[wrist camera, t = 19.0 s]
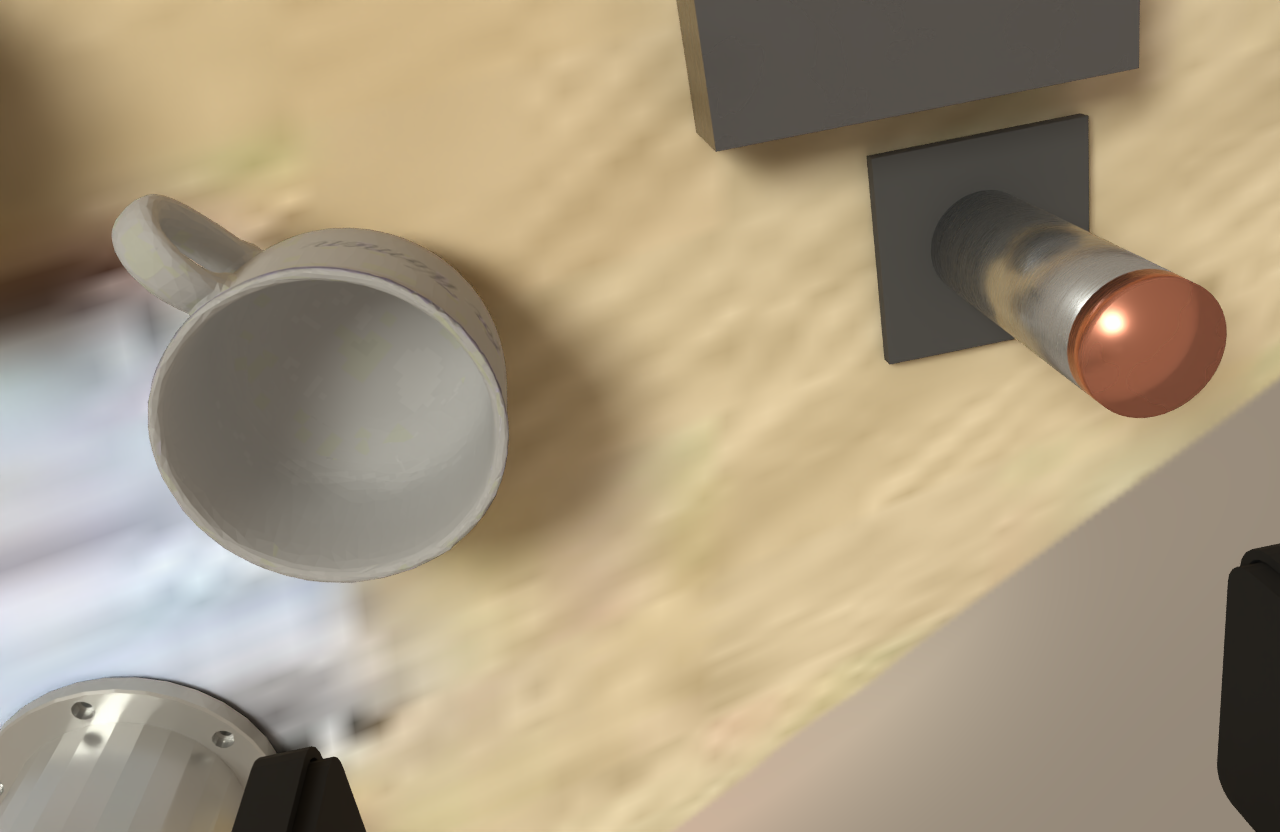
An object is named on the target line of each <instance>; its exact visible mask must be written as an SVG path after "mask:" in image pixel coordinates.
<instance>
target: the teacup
mask: <svg viewBox="0 0 1280 832" xmlns="http://www.w3.org/2000/svg"><path fill="white" fill-rule="evenodd" d="M112 242H113V246H114V249H115V253H116V254H117V256H118V258H119V259H120V261H121V263H122V264H123V266H124V267H125V268H126V270H127V271H128V272H129V273H130V274H131V275H132V276H133V278H134V279H135V280H137V281H138V282H139V283H140V284H141V285H142V286H143V287H144V288H145V289H146V290H148V291H149V292H150V293H151V294H153V295H154V296H156V297H157V298H159V299H160V300H162V301H164V302H166V303H168V304H169V305H171V306H173V307H175V308H177V309H179V310H181V311H184V312H186V313H188V314H189V315H190V317H189V318H188V319H187V320H186V321H185V323H184V324H183V325H182V326H181V327H180V328H179V330H178V331H177V332H176V333H175V335H174V337H173V338H172V340H171V342H170V343H169V345H168V346H167V348H166V350H165V352H164V354H163V356H162V358H161V359H160V362H159V364H158V366H157V368H156V371H155V374H154V377H153V380H152V386H151V392H150V396H149V401H148V430H149V437H150V443H151V447H152V451H153V454H154V457H155V461H156V464H157V466H158V469H159V471H160V473H161V476H162V478H163V480H164V481H165V483H166V485H167V486H168V488H169V490H170V491H171V493H172V494H173V496H174V497H175V499H176V500H177V502H178V504H179V505H180V507H181V508H182V510H183V511H184V512H185V513H186V514H187V515H188V516H189V517H190V519H191V520H192V521H193V522H194V523H195V524H196V525H197V526H198V527H199V528H200V529H201V530H203V531H204V532H205V533H206V534H207V535H208V536H209V537H211V538H212V539H213V540H215V541H216V542H217V543H218V544H220V545H221V546H222V547H223V548H225V549H227V550H229V551H230V552H232V553H234V554H235V555H237V556H239V557H241V558H243V559H245V560H247V561H249V562H251V563H253V564H255V565H258V566H260V567H262V568H265V569H268V570H271V571H274V572H277V573H280V574H283V575H286V576H290V577H295V578H300V579H304V580H309V581H319V582H341V583H350V582H359V581H367V580H372V579H379V578H384V577H388V576H391V575H394V574H398V573H401V572H404V571H407V570H410V569H414V568H416V567H418V566H420V565H422V564H424V563H426V562H428V561H430V560H432V559H434V558H436V557H438V556H440V555H441V554H443V553H445V552H447V551H448V550H450V549H451V548H452V547H453V546H454V545H455V544H456V543H457V542H459V541H460V540H461V539H462V538H463V537H465V536H466V535H467V534H468V533H469V532H470V531H471V529H472V528H473V527H474V526H475V525H476V524H477V523H478V522H479V520H480V519H481V518H482V517H483V516H484V514H485V513H486V511H487V510H488V508H489V506H490V505H491V503H492V501H493V500H494V498H495V496H496V493H497V490H498V488H499V485H500V483H501V480H502V476H503V473H504V469H505V465H506V459H507V454H508V441H509V425H508V414H507V377H506V366H505V359H504V353H503V349H502V345H501V341H500V338H499V335H498V332H497V330H496V327H495V324H494V322H493V320H492V318H491V316H490V314H489V312H488V310H487V308H486V307H485V305H484V303H483V301H482V300H481V298H480V297H479V296H478V294H477V293H476V292H475V290H474V289H473V288H472V286H471V285H470V284H469V283H468V282H467V281H466V280H465V279H464V278H463V277H462V276H461V275H460V274H459V273H458V272H457V271H456V270H455V269H454V268H453V267H452V266H450V265H449V264H448V263H446V262H445V261H444V260H443V259H441V258H440V257H439V256H437V255H436V254H434V253H432V252H430V251H429V250H427V249H425V248H423V247H422V246H420V245H418V244H415V243H413V242H411V241H409V240H406V239H404V238H401V237H398V236H395V235H392V234H388V233H384V232H379V231H374V230H368V229H357V228H333V229H323V230H317V231H312V232H308V233H304V234H300V235H297V236H294V237H292V238H289V239H286V240H284V241H282V242H280V243H278V244H276V245H273V246H271V247H269V248H268V249H266V250H264V251H263V250H261V249H260V248H258V247H257V246H256V245H254V244H251V243H248V242H246V241H243V240H240V239H239V238H237V237H236V236H235V235H233V234H232V233H230V232H229V231H227V230H226V229H224V228H223V227H221V226H220V225H218V224H217V223H215V222H213V221H212V220H210V219H209V218H207V217H205V216H204V215H202V214H201V213H199V212H197V211H196V210H194V209H192V208H191V207H189V206H187V205H185V204H183V203H181V202H179V201H177V200H175V199H172V198H169V197H166V196H163V195H156V194H152V195H146V196H143V197H141V198H139V199H136V200H135V201H133V202H132V203H131V204H130V205H128V206H127V207H126V208H125V209H124V210H123V212H122V213H121V214H120V215H119V217H118V218H117V219H116V221H115V224H114V226H113V229H112ZM183 254H184V255H183ZM186 256H187V257H186ZM189 258H190V259H192V260H193V261H195V262H196V263H198V264H200V265H201V266H203V267H204V268H203V267H201V266H199V265H197V264H196V263H194V262H193V261H192V260H190V259H189ZM205 268H206V269H205Z"/></svg>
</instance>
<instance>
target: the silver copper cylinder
mask: <svg viewBox="0 0 1280 832" xmlns="http://www.w3.org/2000/svg"><path fill="white" fill-rule="evenodd" d="M931 259H932V263H933V267H934V269H935V271H936V274H937V275H938V277H939V278H940V279H941V281H942V282H943V283H944V284H945V285H947V286H948V287H949V288H950V289H952V290H953V291H954V292H956V293H957V294H958V295H959V296H961V297H962V298H963V299H965V300H966V301H967V302H969V303H970V304H971V305H972V306H974V307H975V308H976V309H978V310H979V311H980V312H982V313H983V314H984V315H985V316H987V317H988V318H989V319H991V320H992V321H993V322H995V323H996V324H997V325H998V326H1000V327H1001V328H1002V329H1004V330H1005V331H1006V332H1008V333H1009V334H1010V335H1011V336H1013V337H1014V338H1015V339H1017V340H1018V341H1019V342H1021V343H1022V344H1023V345H1025V346H1026V347H1027V348H1028V349H1030V350H1031V351H1032V352H1034V353H1035V354H1036V355H1038V356H1039V357H1040V358H1041V359H1043V360H1044V361H1045V362H1047V363H1048V364H1049V365H1051V366H1052V367H1053V368H1054V369H1056V370H1057V371H1058V372H1060V373H1061V374H1062V375H1064V376H1065V377H1066V378H1067V379H1069V380H1070V381H1071V382H1073V383H1074V384H1075V385H1077V386H1078V387H1079V388H1080V389H1082V390H1083V391H1084V392H1086V393H1087V394H1088V395H1090V396H1091V397H1092V398H1094V399H1095V400H1096V401H1097V402H1099V403H1100V404H1101V405H1103V406H1104V407H1105V408H1107V409H1108V410H1110V411H1112V412H1114V413H1116V414H1119V415H1122V416H1126V417H1133V418H1147V417H1153V416H1158V415H1161V414H1165V413H1167V412H1170V411H1172V410H1174V409H1176V408H1178V407H1180V406H1182V405H1183V404H1185V403H1186V402H1188V401H1189V400H1191V399H1192V398H1193V397H1194V396H1195V395H1197V394H1198V393H1199V392H1200V391H1201V390H1202V389H1203V388H1204V387H1205V385H1206V384H1207V383H1208V382H1209V380H1210V379H1211V378H1212V376H1213V375H1214V373H1215V371H1216V370H1217V368H1218V366H1219V364H1220V361H1221V359H1222V356H1223V353H1224V349H1225V345H1226V336H1227V333H1226V322H1225V317H1224V314H1223V311H1222V309H1221V307H1220V305H1219V303H1218V302H1217V300H1216V299H1215V298H1214V296H1213V295H1212V294H1211V293H1209V292H1208V291H1207V290H1206V289H1204V288H1203V287H1201V286H1200V285H1198V284H1196V283H1193V282H1191V281H1189V280H1187V279H1185V278H1183V277H1181V276H1179V275H1177V274H1175V273H1173V272H1171V271H1169V270H1167V269H1164V268H1162V267H1160V266H1158V265H1156V264H1154V263H1152V262H1150V261H1148V260H1146V259H1144V258H1142V257H1140V256H1138V255H1135V254H1133V253H1131V252H1129V251H1127V250H1125V249H1123V248H1121V247H1119V246H1117V245H1115V244H1113V243H1111V242H1108V241H1106V240H1104V239H1102V238H1100V237H1098V236H1096V235H1094V234H1092V233H1090V232H1088V231H1086V230H1084V229H1082V228H1079V227H1077V226H1075V225H1073V224H1071V223H1069V222H1067V221H1065V220H1063V219H1061V218H1059V217H1057V216H1055V215H1053V214H1050V213H1048V212H1046V211H1044V210H1042V209H1040V208H1038V207H1036V206H1034V205H1032V204H1030V203H1028V202H1026V201H1024V200H1021V199H1019V198H1017V197H1015V196H1013V195H1011V194H1009V193H1006V192H1003V191H998V190H983V191H978V192H974V193H972V194H969V195H967V196H965V197H963V198H961V199H960V200H958V201H957V202H956V203H954V204H953V205H952V206H951V207H950V208H949V209H948V210H947V211H946V212H945V213H944V214H943V216H942V217H941V219H940V220H939V222H938V224H937V226H936V228H935V231H934V233H933V237H932V242H931Z"/></svg>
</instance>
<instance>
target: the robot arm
mask: <svg viewBox="0 0 1280 832" xmlns="http://www.w3.org/2000/svg"><path fill="white" fill-rule="evenodd" d="M1217 769H1218V775H1219V780H1220V783H1221V785H1222V788H1223V790H1224V792H1225V794H1226V796H1227V797H1228V799H1229V800H1230V802H1231V803H1232V805H1233V806H1234V807H1235V808H1236V809H1237V810H1238V812H1239V813H1240V814H1241V815H1242V816H1243V817H1244V819H1245V820H1246V821H1247V822H1248V823H1249V825H1250V826H1251V827H1252V828H1253V829H1254V830H1255V831H1256V832H1280V544H1276V545H1271V546H1266V547H1261V548H1256V549H1252V550H1250V551H1248V552H1246V553H1245V555H1244V556H1243V558H1242V560H1241V565H1240V567H1236V568H1234V569H1232V571H1231V573H1230V574H1229V579H1228V590H1227V607H1226V624H1225V640H1224V658H1223V675H1222V691H1221V708H1220V725H1219V743H1218V759H1217ZM0 832H366V830H365V827H364V824H363V822H362V819H361V816H360V813H359V810H358V808H357V805H356V802H355V799H354V797H353V794H352V791H351V788H350V785H349V783H348V780H347V777H346V774H345V771H344V769H343V766H342V764H341V762H340V760H339V759H338V758H337V757H330V758H326V759H323V758H322V756H321V754H320V752H319V751H318V750H317V748H316V747H312V746H311V747H307V748H302V749H297V750H292V751H288V752H283V753H278V754H277V753H276V751H275V750H274V748H273V747H272V745H271V744H270V742H269V741H268V739H267V738H266V737H265V736H264V735H263V734H262V733H261V732H260V731H259V730H258V729H257V728H256V727H255V726H254V725H253V724H252V723H251V722H250V721H249V720H248V719H247V718H246V717H244V716H243V715H241V714H240V713H238V712H237V711H236V710H234V709H233V708H231V707H230V706H228V705H227V704H225V703H224V702H222V701H219V700H217V699H215V698H213V697H211V696H209V695H207V694H204V693H202V692H200V691H198V690H195V689H192V688H188V687H185V686H181V685H178V684H175V683H171V682H168V681H160V680H153V679H146V678H138V677H122V678H101V679H95V680H89V681H83V682H77V683H74V684H71V685H68V686H65V687H62V688H59V689H56V690H53V691H50V692H48V693H46V694H44V695H43V696H41V697H39V698H37V699H36V700H34V701H32V702H30V703H28V704H27V705H25V706H24V707H22V708H21V709H20V710H19V711H18V712H17V713H16V714H14V715H13V716H12V717H11V718H10V719H9V720H7V721H6V722H5V723H4V725H3V726H2V728H1V729H0Z"/></svg>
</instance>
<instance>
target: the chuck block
mask: <svg viewBox="0 0 1280 832" xmlns="http://www.w3.org/2000/svg"><path fill="white" fill-rule="evenodd" d="M677 6H678V13H679V20H680V26H681V33H682V40H683V46H684V53H685V60H686V66H687V73H688V80H689V86H690V93H691V100H692V106H693V113H694V120H695V126H696V133H697V134H698V135H699V136H700V137H702V138H703V139H704V140H705V141H706V142H707V143H708V144H709V145H710V146H711V147H712V148H713V149H714V150H715V151H716V152H717V151H722V150H727V149H732V148H737V147H742V146H747V145H752V144H757V143H762V142H767V141H772V140H777V139H782V138H787V137H792V136H798V135H803V134H808V133H813V132H818V131H823V130H828V129H833V128H838V127H843V126H848V125H853V124H858V123H863V122H868V121H873V120H878V119H883V118H889V117H894V116H899V115H904V114H909V113H914V112H919V111H924V110H929V109H934V108H939V107H944V106H949V105H954V104H959V103H964V102H969V101H975V100H980V99H985V98H990V97H995V96H1000V95H1005V94H1010V93H1015V92H1020V91H1025V90H1030V89H1035V88H1040V87H1045V86H1050V85H1055V84H1060V83H1066V82H1071V81H1076V80H1081V79H1086V78H1091V77H1096V76H1101V75H1106V74H1111V73H1116V72H1121V71H1126V70H1131V69H1136V68H1139V16H1140V0H677Z"/></svg>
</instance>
